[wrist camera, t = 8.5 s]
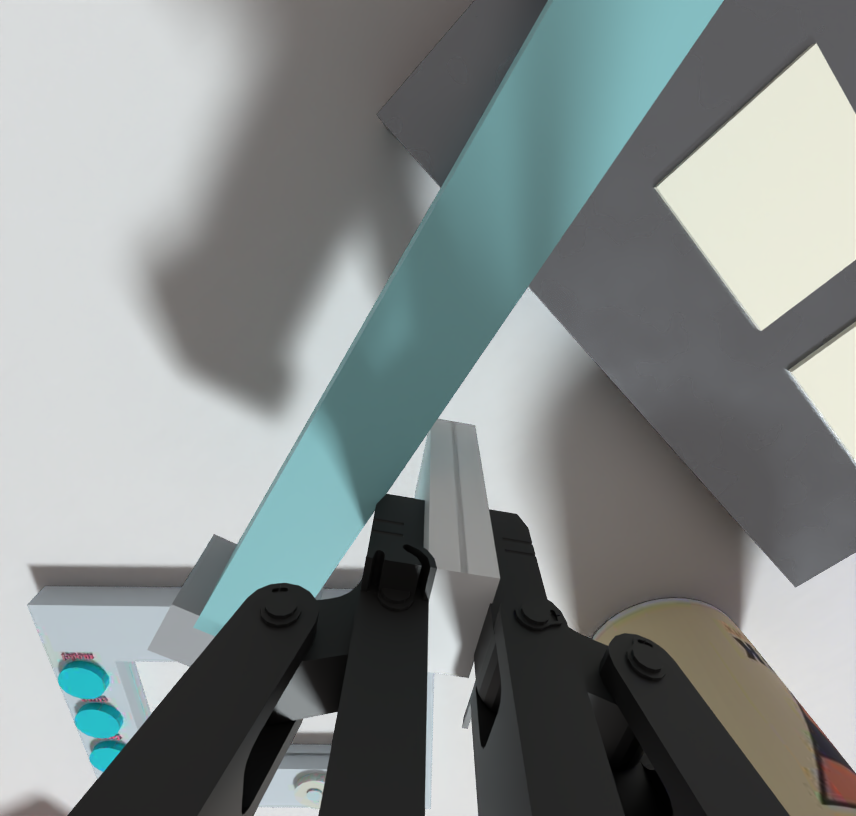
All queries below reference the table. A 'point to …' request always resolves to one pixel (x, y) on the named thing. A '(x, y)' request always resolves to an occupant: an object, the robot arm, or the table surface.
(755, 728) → the coffee cup
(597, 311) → the plate
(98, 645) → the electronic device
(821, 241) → the label
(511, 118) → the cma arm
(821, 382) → the label
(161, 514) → the table surface
